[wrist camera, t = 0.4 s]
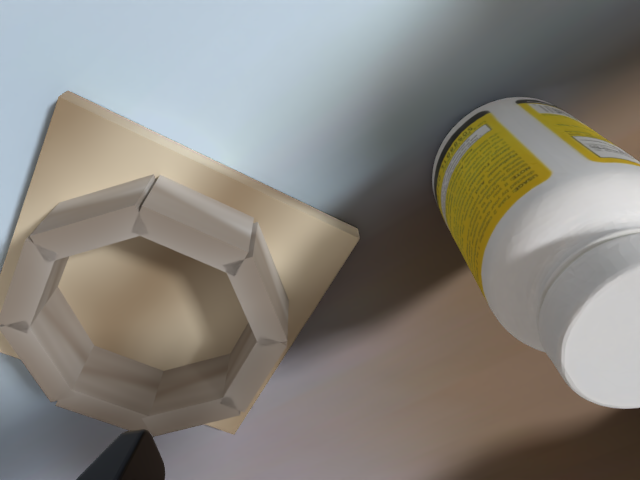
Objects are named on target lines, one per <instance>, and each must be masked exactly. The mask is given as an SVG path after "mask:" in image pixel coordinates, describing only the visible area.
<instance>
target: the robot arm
mask: <svg viewBox="0 0 640 480" xmlns="http://www.w3.org/2000/svg"><path fill="white" fill-rule="evenodd" d="M76 480H165V467H164V463H163V460H162V458H161V456H160V453H159V451H158V449H157V446H156V444H155V442H154V440H153V437H152V435H151V434H150V432H149V431H148V430H146V429H140V430H133V431H127V432H124V433H122V434H121V435H120V436H118V437H117V438H116V440H115V441H114V442H113V443H112V444H111V445H110V446H109V447H108V448H107V449H106V450H105V451H104V452H103V453H102V454H101V455H100V456H99V457H98V458H97V459H96V460H95V461H94V462H93V463H92V464H91V465H90V466H89V467H88V468H87V469H86V470H85V471H84V472H83V473H82V474H81V475H80V476H79V477H78V478H77V479H76Z"/></svg>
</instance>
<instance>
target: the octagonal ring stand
mask: <svg viewBox="0 0 640 480" xmlns="http://www.w3.org/2000/svg"><path fill="white" fill-rule="evenodd" d="M359 239H360V237H359V232H358V229H357V228H355V227H353V226H351V225H349V224H347V223H345V222H343V221H341V220H339V219H336V218H334V217H332V216H330V215H328V214H326V213H324V212H322V211H320V210H318V209H315V208H313V207H311V206H309V205H307V204H305V203H303V202H301V201H299V200H297V199H294V198H292V197H290V196H288V195H286V194H284V193H282V192H280V191H278V190H276V189H273V188H271V187H269V186H267V185H265V184H263V183H261V182H259V181H257V180H255V179H253V178H250V177H248V176H246V175H244V174H242V173H240V172H238V171H236V170H234V169H232V168H229V167H227V166H225V165H223V164H221V163H219V162H217V161H215V160H213V159H211V158H208V157H206V156H204V155H202V154H200V153H198V152H196V151H194V150H192V149H190V148H187V147H185V146H183V145H181V144H179V143H177V142H175V141H173V140H171V139H169V138H166V137H164V136H162V135H160V134H158V133H156V132H154V131H152V130H150V129H148V128H145V127H143V126H141V125H139V124H137V123H135V122H133V121H131V120H129V119H127V118H124V117H122V116H120V115H118V114H116V113H114V112H112V111H110V110H108V109H106V108H103V107H101V106H99V105H97V104H95V103H93V102H91V101H89V100H87V99H85V98H82V97H80V96H78V95H76V94H74V93H72V92H70V91H66V92H65V93H63V94H62V95H60V96H59V97H58V100H57V103H56V107H55V110H54V113H53V116H52V119H51V122H50V125H49V128H48V131H47V134H46V137H45V140H44V143H43V146H42V149H41V152H40V155H39V158H38V161H37V164H36V167H35V170H34V173H33V176H32V179H31V182H30V186H29V189H28V192H27V195H26V198H25V201H24V204H23V207H22V210H21V213H20V216H19V219H18V222H17V225H16V228H15V231H14V234H13V237H12V240H11V243H10V246H9V249H8V252H7V255H6V258H5V262H4V265H3V268H2V271H1V274H0V352H1V353H4V354H7V355H9V356H12V357H15V358H18V359H21V361H22V362H23V364H24V365H25V366H26V368H27V369H28V371H29V372H30V373H31V375H32V376H33V378H34V379H35V381H36V382H37V383H38V385H39V386H40V388H41V389H42V390H43V392H44V393H45V395H46V396H47V398H48V399H49V400H50V402H54V401H57V400H58V401H57V403H56V406H58V407H61V408H64V409H67V410H70V411H73V412H76V413H79V414H82V415H85V416H88V417H91V418H94V419H97V420H100V421H103V422H106V423H109V424H112V425H115V426H118V427H121V428H124V429H127V430H130V431H133V430H140V429H146V430H148V431H149V432H150V433H151V434H152V436H153V437H154V436H158V435H162V434H166V433H170V432H174V431H178V430H183V429H187V428H191V427H195V426H199V425H203V424H205V425H208V426H211V427H214V428H217V429H220V430H223V431H225V432H228V433H231V434H235V432H236V431H237V429H238V428H239V426H240V425H241V423H242V422H243V420H244V418H245V417H246V415H247V414H248V412H249V411H250V409H251V407H252V406H253V404H254V403H255V401H256V400H257V398H258V397H259V395H260V393H261V392H262V390H263V389H264V387H265V386H266V384H267V383H268V381H269V379H270V378H271V376H272V375H273V373H274V372H275V370H276V369H277V367H278V365H279V364H280V362H281V361H282V359H283V358H284V356H285V354H286V353H287V351H288V350H289V348H290V347H291V345H292V344H293V342H294V340H295V339H296V337H297V336H298V334H299V333H300V331H301V330H302V328H303V326H304V325H305V323H306V322H307V320H308V319H309V317H310V315H311V314H312V312H313V311H314V309H315V308H316V306H317V305H318V303H319V301H320V300H321V298H322V297H323V295H324V294H325V292H326V291H327V289H328V287H329V286H330V284H331V283H332V281H333V280H334V278H335V276H336V275H337V273H338V272H339V270H340V269H341V267H342V266H343V264H344V262H345V261H346V259H347V258H348V256H349V255H350V253H351V252H352V250H353V248H354V247H355V245H356V244H357V242H358V241H359Z"/></svg>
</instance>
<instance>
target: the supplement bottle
mask: <svg viewBox="0 0 640 480" xmlns="http://www.w3.org/2000/svg"><path fill="white" fill-rule="evenodd" d="M432 185H433V192H434V196H435V200H436V203H437V205H438V208H439V210H440V212H441V214H442V217H443V219H444V221H445V223H446V225H447V227H448V229H449V230H450V232H451V234H452V236H453V238H454V240H455V242H456V244H457V246H458V247H459V249H460V251H461V253H462V255H463V257H464V259H465V261H466V263H467V265H468V267H469V268H470V270H471V272H472V274H473V276H474V278H475V280H476V282H477V284H478V286H479V288H480V290H481V292H482V294H483V296H484V297H485V299H486V301H487V303H488V305H489V307H490V308H491V310H492V312H493V313H494V315H495V316H496V318H497V319H498V321H499V322H500V323H501V325H502V326H503V327H504V328H505V329H506V330H507V331H508V332H509V333H510V334H511V335H513V336H514V337H515V338H516V339H518V340H519V341H521V342H523V343H524V344H526V345H528V346H530V347H532V348H534V349H537V350H540V351H543V352H546V354H547V355H548V357H549V358H550V359H551V360H552V362H553V363H554V365H555V367H556V368H557V370H558V371H559V373H560V374H561V376H562V377H563V379H564V381H565V382H566V383H567V385H568V386H569V387H570V388H571V389H572V390H573V391H574V392H575V393H577V394H578V395H579V396H581V397H582V398H584V399H586V400H588V401H590V402H593V403H595V404H598V405H601V406H606V407H611V408H622V409H631V408H640V162H639V161H637V160H636V159H634V158H633V157H632V156H630V155H629V154H627V153H626V152H624V151H623V150H622V149H620V148H618V147H617V146H616V145H614V144H612V143H611V142H609V141H608V140H607V139H605V138H603V137H602V136H601V135H599V134H598V133H596V132H595V131H593V130H592V129H590V128H589V127H587V126H586V125H585V124H583V123H582V122H580V121H578V120H577V119H576V118H574V117H573V116H571V115H569V114H568V113H566V112H565V111H563V110H562V109H560V108H558V107H556V106H554V105H552V104H550V103H548V102H545V101H542V100H539V99H535V98H529V97H511V98H504V99H500V100H496V101H493V102H490V103H488V104H485V105H483V106H481V107H479V108H477V109H475V110H474V111H472V112H471V113H469V114H468V115H466V116H465V117H464V118H463V119H462V120H460V121H459V122H458V123H457V124H456V125H455V126H454V127H453V128H452V130H451V131H450V132H449V133H448V135H447V136H446V137H445V139H444V140H443V142H442V144H441V146H440V148H439V150H438V153H437V155H436V158H435V162H434V166H433V173H432Z"/></svg>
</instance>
